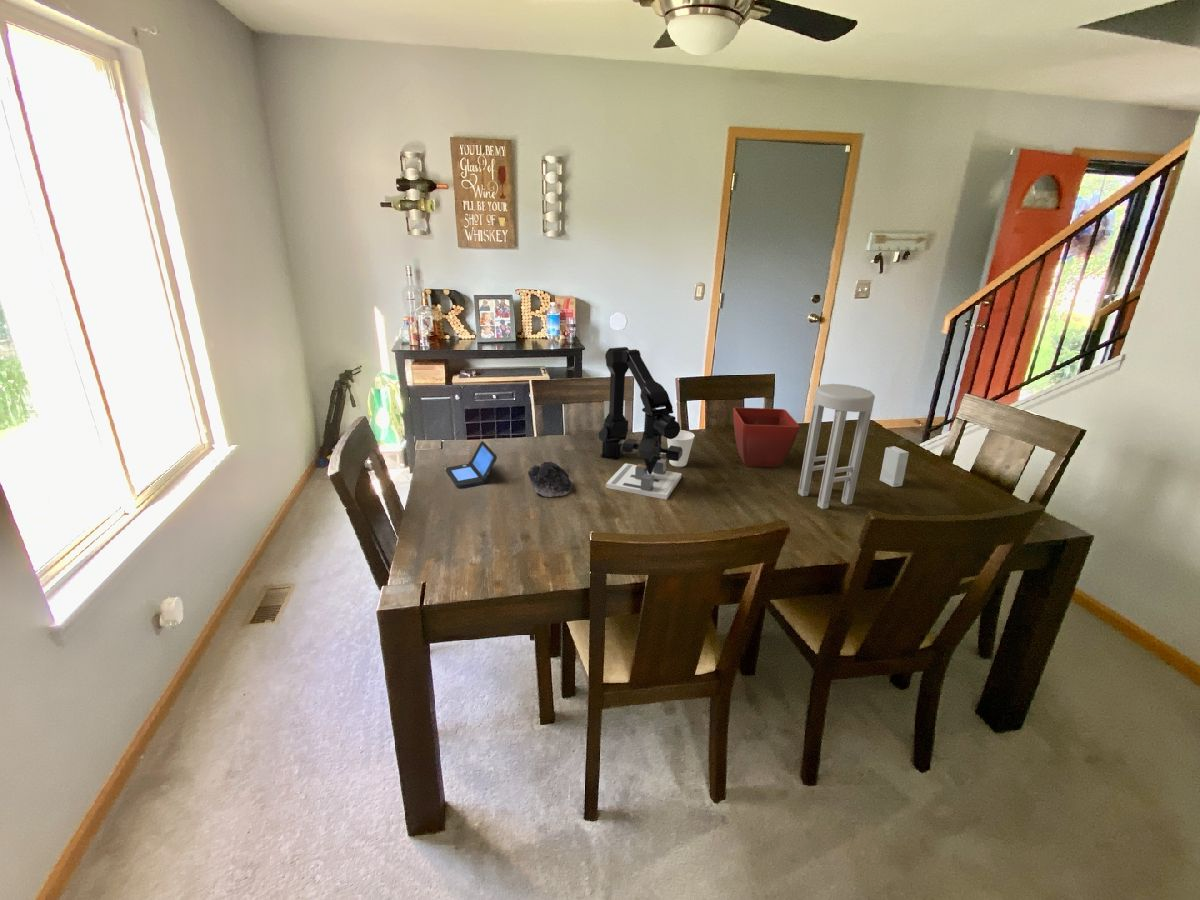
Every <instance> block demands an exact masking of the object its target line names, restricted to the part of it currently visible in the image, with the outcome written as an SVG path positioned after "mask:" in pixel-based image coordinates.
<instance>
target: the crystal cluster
mask: <svg viewBox="0 0 1200 900" xmlns="http://www.w3.org/2000/svg"><path fill="white" fill-rule="evenodd" d="M527 474H528V477H529V482H530V484H531V486H532V488H533V490H534V491H535V493H536V494H539V495H541V496H543V497H547V498H552V497H561V496H565V495H567V494H569V493H570V491H571V489H572V488H573V484H572V481H571V479H570V478H569V477H570V475H569V473H567V471H566V470H565V469H564V468H562V467H561V466H560V465H558V464H557V463H555V462H553V461H543V462H542V463H541V465H540V466H539V465H536V464H533V465H532V466H531V467H530V468H529V470H528V472H527Z"/></svg>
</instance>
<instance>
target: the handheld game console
mask: <svg viewBox="0 0 1200 900" xmlns="http://www.w3.org/2000/svg"><path fill="white" fill-rule="evenodd" d="M497 459H498V457H497V454H495V452H494V451H493V450H492V449H491V448H490V447H489V445H487V443H486V442H485V441H484V440H482V441H480V442H479V444H478V447H477V448H476V450H475V452H474V453H473V456H472V458H471V459H470V461H468V463H464V464H463V463H462V464H459V465H453V466H448V467H446V468H445V472H446V473H447V475H448V477H449V478H450V479H451V481H452V482H453V484H454V485H455V487H456V488H458V489H463V488H465V489H466V488H470V487H475V486H481V485H486V484H487V478H488V476H489V475H490V473H491V470H492V468H493V467H494V465H495V463H496V461H497Z"/></svg>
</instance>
